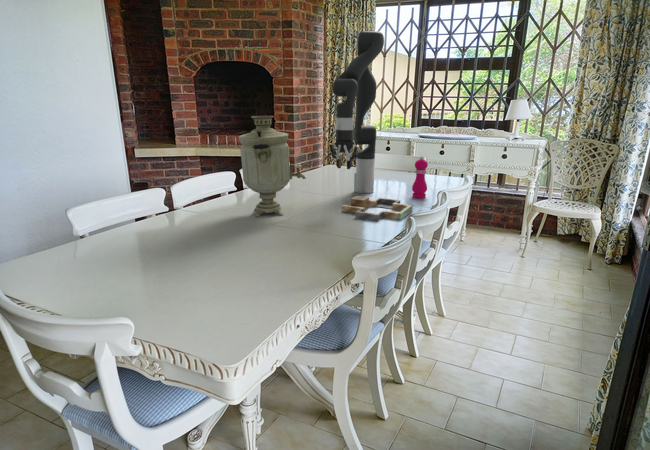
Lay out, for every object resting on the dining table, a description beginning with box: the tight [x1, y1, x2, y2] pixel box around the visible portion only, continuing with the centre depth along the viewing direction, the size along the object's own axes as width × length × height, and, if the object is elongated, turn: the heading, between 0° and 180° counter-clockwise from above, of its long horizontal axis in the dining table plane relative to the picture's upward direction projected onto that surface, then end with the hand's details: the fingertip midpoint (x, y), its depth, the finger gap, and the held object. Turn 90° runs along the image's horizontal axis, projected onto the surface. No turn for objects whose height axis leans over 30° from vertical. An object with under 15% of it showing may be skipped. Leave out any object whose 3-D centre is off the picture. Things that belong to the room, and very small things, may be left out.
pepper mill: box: [411, 155, 429, 200], centre depth 203 cm, size 7×7×20 cm
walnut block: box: [350, 195, 370, 211], centre depth 186 cm, size 6×6×5 cm
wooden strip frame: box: [341, 197, 413, 222], centre depth 182 cm, size 26×27×2 cm
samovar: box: [238, 115, 307, 218], centre depth 173 cm, size 30×26×40 cm
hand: (343, 168), depth 185 cm, fingers open, 4 cm apart
